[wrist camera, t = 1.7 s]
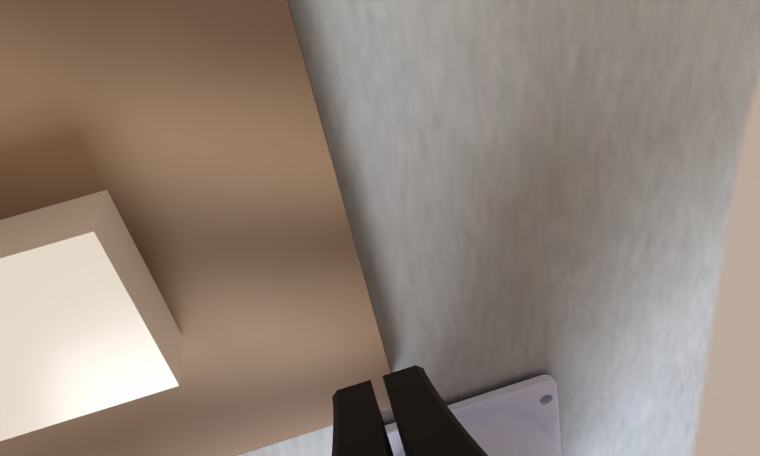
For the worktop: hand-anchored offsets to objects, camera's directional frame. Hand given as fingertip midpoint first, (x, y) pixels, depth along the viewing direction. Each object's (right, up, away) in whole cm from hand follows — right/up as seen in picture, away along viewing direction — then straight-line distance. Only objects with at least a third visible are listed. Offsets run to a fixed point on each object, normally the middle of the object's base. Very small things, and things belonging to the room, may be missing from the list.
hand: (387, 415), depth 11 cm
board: (-8, +3, +7) cm, 10 cm away
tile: (-9, +1, +5) cm, 10 cm away
